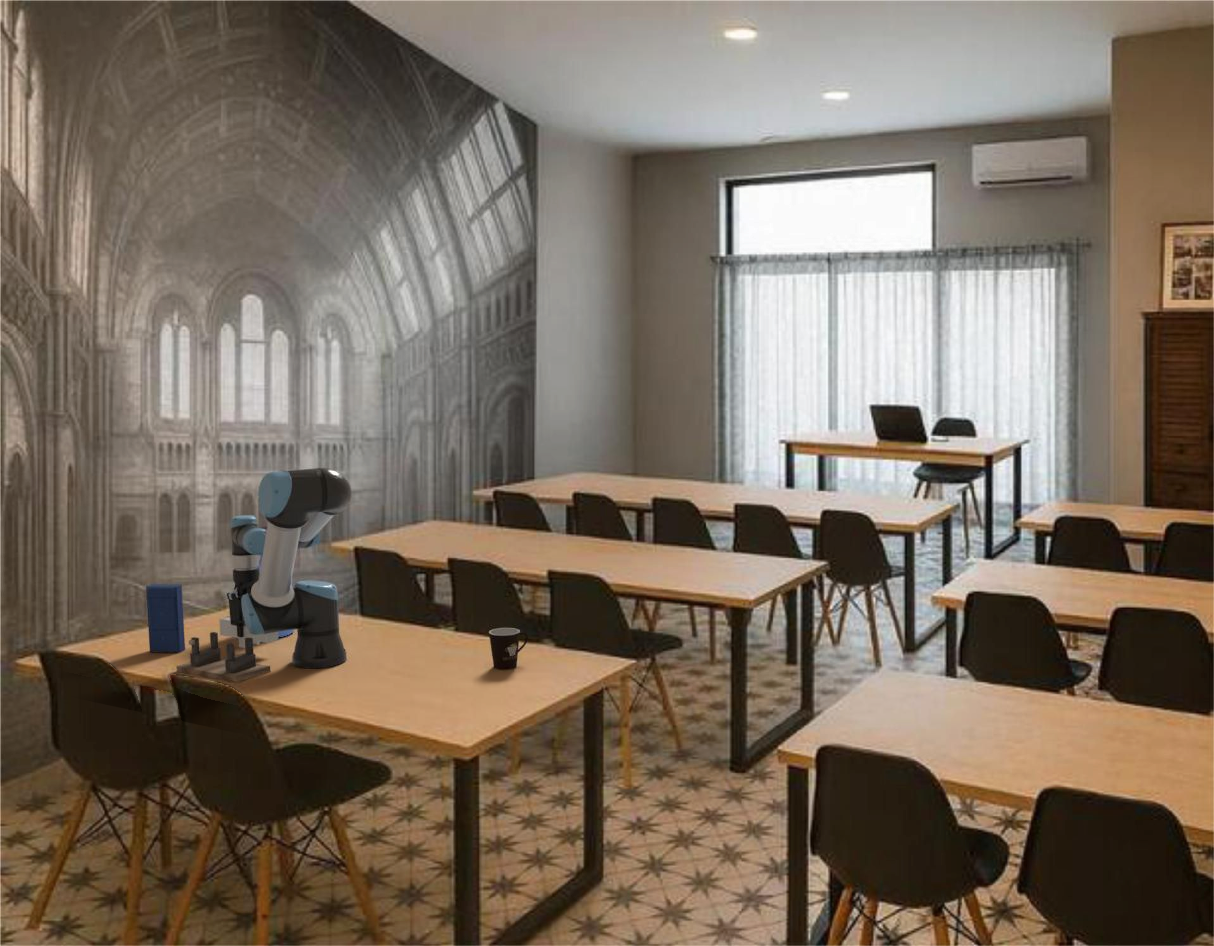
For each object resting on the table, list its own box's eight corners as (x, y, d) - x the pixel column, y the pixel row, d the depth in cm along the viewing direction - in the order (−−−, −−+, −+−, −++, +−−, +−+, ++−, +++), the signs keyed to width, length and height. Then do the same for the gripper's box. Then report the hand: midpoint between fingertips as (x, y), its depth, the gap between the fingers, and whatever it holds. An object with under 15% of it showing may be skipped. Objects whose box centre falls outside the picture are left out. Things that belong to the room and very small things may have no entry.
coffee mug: (492, 672, 313) (491, 636, 312) (487, 663, 321) (486, 629, 320) (534, 668, 316) (533, 633, 315) (527, 660, 324) (527, 626, 323)
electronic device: (186, 648, 343) (183, 583, 341) (178, 653, 338) (175, 587, 336) (156, 648, 344) (153, 583, 342) (148, 652, 339) (144, 587, 336)
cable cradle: (270, 671, 317) (268, 638, 316) (237, 682, 306) (235, 648, 305) (210, 660, 328) (209, 628, 327) (176, 671, 318) (174, 638, 317)
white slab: (278, 639, 334) (277, 623, 333) (268, 643, 330) (267, 626, 330) (230, 631, 344) (229, 615, 343) (220, 634, 340) (219, 618, 340)
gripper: (258, 561, 344) (262, 637, 346) (214, 571, 329) (217, 650, 332) (276, 564, 340) (280, 640, 343) (232, 574, 325) (236, 653, 328)
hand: (249, 645), depth 337 cm, fingers closed on white slab, 4 cm apart
